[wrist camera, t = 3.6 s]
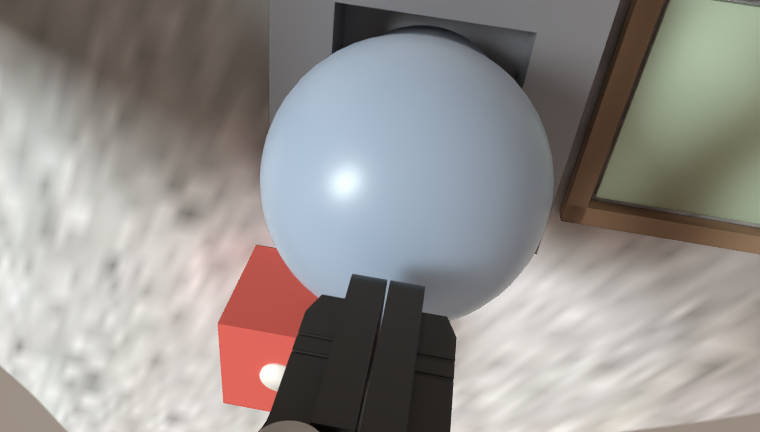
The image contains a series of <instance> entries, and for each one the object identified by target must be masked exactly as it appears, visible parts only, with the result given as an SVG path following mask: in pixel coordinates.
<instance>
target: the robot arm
mask: <svg viewBox="0 0 760 432" xmlns="http://www.w3.org/2000/svg"><path fill="white" fill-rule="evenodd" d="M386 287H387V280H386V279H380V278H375V277H369V276H363V275H358V274H352V276H351V279H350V282H349V286H348V289H347V293H346V296H345V298H340V297H334V296H329V295H323V294H322V295H321V296H320V297H319V298H318V299H317V300H316V301H315V302H314V303H313V304H312V305H311V306H310V307H309V308H308V309H307V310H306V311H305V314H304V316H303V319H302V322H301V325H300V328H299V331H298V335H297V337H296V339H295V342H294V345H293V348H292V353H291V354H290V357H289V360H288V362H287V365H286V368H285V371H284V374H283V377H282V380H281V383H280V385H279V388H278V391H277V394H276V397H275V400H274V403H273V406H272V408H271V411H270V414H269V416H268V419H267V421H266V422H265V424H264V425H263V427H262V428H261V429H260V430H259V431H258V432H450V427H451V411H452V396H453V379H454V365H455V364H454V362H455V350H456V336H455V334H454V331H453V329H452V327H451V324H450V322H449V320H448V317H447V316H441V315H435V314H430V313H424V312H422V309H423V301H424V294H425V286H421V285H415V284H410V283H404V282H398V281H393V280H390V284H389V289H388V294H387V298H386V303H385V308H384V313H383V307H384V300H385V294H386ZM382 314H383V318H382ZM381 321H382V323H381Z"/></svg>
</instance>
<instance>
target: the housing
mask: <svg viewBox="0 0 760 432" xmlns="http://www.w3.org/2000/svg"><path fill="white" fill-rule="evenodd" d="M619 2H620V0H269V129H270V126H271V124H272V122H273V119H274V117H275V115H276V113H277V111H278V109H279V108H280V106H281V104H282V102H283V101H284V99H285V98H286V96H287V95H288V94H289V93H290V91H291V90H292V89H293V88H294V87H295V85H296V84H297V83H298V82H299V81H300V79H301V78H302V77H303V76H304V75H305V74H306V73H307V72H309V71H310V70H311V69H312V68H313V67H314V66H315V65H317V64H318V63H320V62H321V61H323V60H324V59H326V58H327V57H329V56H330V55H332V54H333V53H335V52H336V51H338V50H341V49H343V48H345V47H347V46H349V45H351V44H353V43H356V42H359V41H363V40H366V39H369V38H373V37H379V36H380V35H382V34H384V33H386V32H389V31H391V30H394V29H397V28H400V27H406V26H412V25H428V26H436V27H441V28H445V29H448V30H451V31H453V32H456V33H458V34H460V35H462V36H464V37H466V38H467V39H468V40H470V41H471V42H473V43H474V44H475V45H476V46H477V47H479V48H480V49H481V50H482V51H483V52H484V54H485V55H486V56H487V57H488V58H489V59H490V60H492V61H493V62H494V63H496V64H497V65H499V66H500V67H501V68H502V69H503V70H504V71H506V72H507V73H508V74H509V75H510V76H511V77H512V78H513V79H514V80H515V81H516V83H517V84H518V85H519V86H520V87H521V89H522V90H523V91H524V92H525V94H526V95H527V97H528V98H529V100H530V101H531V103H532V105H533V106H534V108H535V110H536V111H537V113H538V114H539V117H540V119H541V122H542V124H543V127H544V129H545V132H546V135H547V138H548V142H549V146H550V150H551V154H552V161H553V174H554V188H553V200H552V205H551V209H552V206H553V203H554V200H555V197H556V194H557V191H558V188H559V184H560V181H561V178H562V175H563V172H564V169H565V166H566V163H567V160H568V157H569V154H570V151H571V148H572V145H573V142H574V139H575V136H576V133H577V130H578V127H579V124H580V121H581V118H582V115H583V112H584V109H585V106H586V103H587V99H588V96H589V93H590V90H591V87H592V84H593V81H594V78H595V75H596V72H597V69H598V66H599V63H600V60H601V57H602V54H603V51H604V48H605V45H606V42H607V39H608V36H609V33H610V30H611V27H612V24H613V21H614V18H615V14H616V11H617V8H618V5H619ZM551 209H550V212H551ZM549 215H550V214H549ZM540 242H541V241H540ZM539 245H540V243H539ZM539 245H538V247H537V249H536V251H535V253H534V254H537V251H538V248H539Z"/></svg>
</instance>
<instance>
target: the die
mask: <svg viewBox="0 0 760 432" xmlns="http://www.w3.org/2000/svg"><path fill="white" fill-rule="evenodd" d="M317 299H318V297H316V296H315V295H314V294H313V293H312V292H311V291H309V290H308V289H307V288H306V287H305V286H304V285H303V284H302V283H301V282H300V281H299V280H298V279H297V278H296V277H295V276H294V275H293V273H292V272H291V271H290V269H289V268H288V267H287V265H286V264H285V262H284V261H283V259H282V257H281V256H280V254H279V252H278V250H277V249H276V248H270V247H265V246H259V245H256V246H255V249H254V251H253V253H252V255H251V257H250V259H249V261H248V263H247V265H246V267H245V269H244V271H243V273H242V275H241V277H240V279H239V281H238V283H237V285H236V287H235V289H234V291H233V293H232V295H231V297H230V300H229V302H228V304H227V306H226V308H225V310H224V312H223V314H222V316H221V318H220V320H219V322H218V335H219V348H220V362H221V376H222V390H223V403H227V404H232V405H237V406H242V407H248V408H253V409H258V410H264V411H269V412H270V411H271V408H272V406H273V403H274V400H275V397H276V394H277V391H278V388H279V385H280V383H281V380H282V377H283V374H284V371H285V368H286V365H287V362H288V360H289V357H290V354H291V353H292V348H293V345H294V342H295V339H296V337H297V335H298V331H299V328H300V325H301V322H302V319H303V316H304V314H305V311H306V310H307V309H308V308H309V307H310V306H311V305H312V304H313V303H314V302H315V301H316V300H317Z"/></svg>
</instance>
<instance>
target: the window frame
mask: <svg viewBox="0 0 760 432" xmlns="http://www.w3.org/2000/svg"><path fill="white" fill-rule="evenodd" d="M663 2H664V0H632V1H631V3H630V6H629V9H628V12H627V15H626V18H625V21H624V24H623V27H622V30H621V33H620V36H619V39H618V42H617V45H616V48H615V51H614V53H613V56H612V59H611V62H610V65H609V68H608V71H607V74H606V77H605V80H604V83H603V86H602V89H601V92H600V95H599V98H598V100H597V103H596V106H595V109H594V112H593V115H592V118H591V121H590V124H589V127H588V130H587V133H586V136H585V139H584V142H583V145H582V148H581V150H580V153H579V156H578V159H577V162H576V165H575V168H574V171H573V174H572V177H571V180H570V183H569V186H568V189H567V192H566V195H565V197H564V200H563V203H562V206H561V209H560V218H561V221H565V222H571V223H577V224H583V225H589V226H595V227H601V228H607V229H613V230H619V231H625V232H631V233H637V234H643V235H648V236H654V237H660V238H666V239H672V240H678V241H684V242H690V243H696V244H702V245H708V246H714V247H720V248H726V249H732V250H738V251H744V252H750V253H756V254H760V228H756V227H750V226H744V225H738V224H732V223H726V222H720V221H714V220H708V219H702V218H696V217H690V216H684V215H678V214H672V213H666V212H660V211H654V210H648V209H642V208H636V207H630V206H624V205H617V204H611V203H605V202H599V201H593V200H590V199H591V196H592V194H593V191H594V188H595V186H596V183H597V180H598V178H599V175H600V172H601V169H602V167H603V164H604V161H605V159H606V156H607V153H608V151H609V148H610V145H611V142H612V140H613V137H614V134H615V132H616V129H617V126H618V124H619V121H620V118H621V116H622V113H623V110H624V107H625V105H626V102H627V99H628V97H629V94H630V91H631V89H632V86H633V83H634V80H635V78H636V75H637V72H638V70H639V67H640V64H641V62H642V59H643V56H644V54H645V51H646V48H647V45H648V43H649V40H650V37H651V35H652V32H653V29H654V27H655V24H656V21H657V18H658V16H659V13H660V10H661V8H662V5H663ZM595 195H596V197H599V198H605V199H611V200H617V201H623V202H629V203H635V204H641V205H647V206H653V207H659V208H665V209H671V210H677V211H683V212H690V213H696V214H702V215H708V216H714V217H720V218H726V219H732V220H738V221H744V222H750V223H756V224H760V6H758V5H751V4H744V3H738V2H731V1H724V0H668V2H667V4H666V7H665V10H664V12H663V15H662V18H661V20H660V23H659V26H658V28H657V31H656V34H655V36H654V39H653V42H652V44H651V47H650V50H649V52H648V55H647V58H646V60H645V63H644V66H643V68H642V71H641V74H640V76H639V79H638V82H637V84H636V87H635V90H634V92H633V95H632V98H631V100H630V103H629V106H628V108H627V111H626V114H625V116H624V119H623V122H622V124H621V127H620V130H619V132H618V135H617V138H616V140H615V143H614V146H613V148H612V151H611V154H610V156H609V159H608V162H607V164H606V167H605V170H604V172H603V175H602V178H601V180H600V183H599V186H598V188H597V191H596V194H595Z"/></svg>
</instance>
